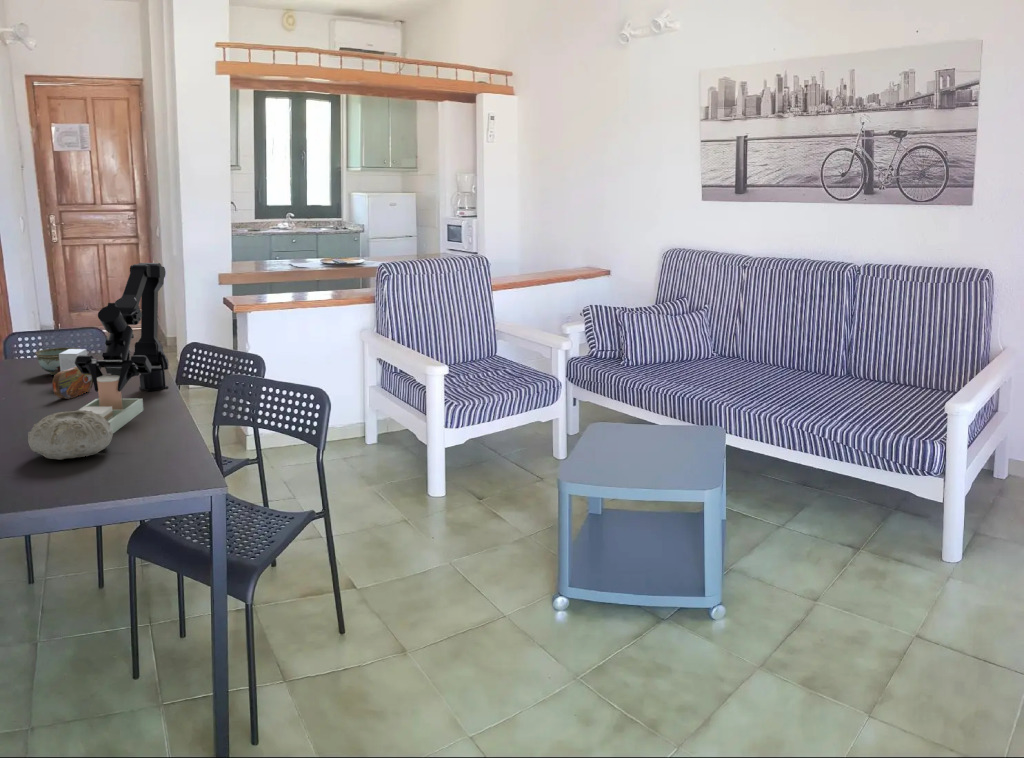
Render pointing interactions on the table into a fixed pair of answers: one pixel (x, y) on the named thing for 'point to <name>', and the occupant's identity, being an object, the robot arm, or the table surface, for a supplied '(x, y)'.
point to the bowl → (50, 359)
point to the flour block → (101, 411)
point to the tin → (71, 383)
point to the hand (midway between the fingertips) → (107, 390)
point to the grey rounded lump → (70, 435)
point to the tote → (122, 412)
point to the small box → (70, 358)
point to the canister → (109, 392)
